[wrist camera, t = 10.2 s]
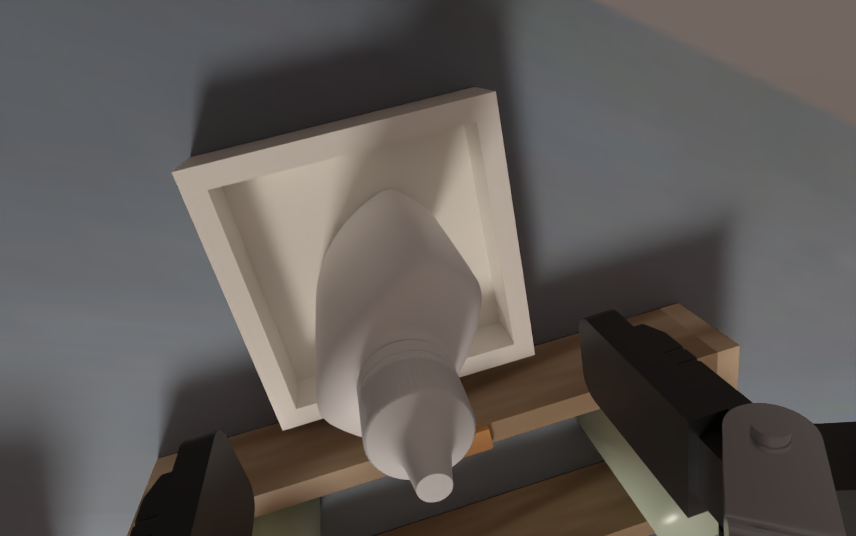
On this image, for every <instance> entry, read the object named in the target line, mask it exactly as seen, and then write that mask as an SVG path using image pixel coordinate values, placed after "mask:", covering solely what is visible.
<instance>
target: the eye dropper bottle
mask: <svg viewBox="0 0 856 536" xmlns="http://www.w3.org/2000/svg"><path fill="white" fill-rule="evenodd" d="M481 304H482V294H481V288H480V285H479V282H478V280H477V279H476V277H475V275H474V274H473V272H472V271H471V269H470V267H469V266H468V264H467V263H466V262H465V260H464V259H463V257H462V256H461V254H460V253H459V251H458V250H457V248H456V247H455V245H454V244H453V243H452V241H451V240H450V238H449V237H448V235H447V234H446V233H445V231H444V230H443V228H442V227H441V225H440V224H439V223H438V221H437V220H436V218H435V217H434V216H433V214H432V213H431V212H430V211H429V210H428V209H427V208H426V207H425V206H423V205H422V204H420V203H418V202H417V201H415V200H414V199H412V198H410V197H409V196H407V195H405V194H404V193H402V192H400V191H397V190H393V189H389V190H385V191H382V192H380V193H378V194H377V195H375V196H374V197H372V198H371V199H370V200H368V201H367V202H366V203H365V204H363V205H362V206H361V207H360V208H359V209H358V210H357V211H356V212H354V214H353V215H352V216H351V217H350V218H349V219H348V220H347V221H346V222H345V223H344V225H343V226H342V227H341V229H340V230H339V232H338V233H337V235H336V236H335V238H334V239H333V241H332V243H331V245H330V247H329V249H328V251H327V253H326V255H325V258H324V261H323V263H322V266H321V270H320V273H319V278H318V282H317V289H316V317H315V388H316V402H317V407H318V410H319V412H320V415H321V416H322V417H323V418H324V419H325V420H326V421H327V422H328V423H330V424H331V425H333V426H335V427H337V428H339V429H341V430H343V431H346V432H348V433H351V434H354V435H356V436H360V437H362V441H363V446H364V451H365V454H366V455H367V457H368V459H369V460H370V463H372V464H373V465H374V467H376V468H377V470H380V471H382V473H385V474H386V475H388V476H391V477H394V478H398V479H403V480H410V481H411V483H412V485H413V487H414V489H415V491H416V493H417V495H418V497H419V498H420V499H421V500H423V501H425V502H438V501H441V500H443V499H445V498H446V497H447V496H448V495H449V494H450V493H451V491H452V489H453V472H452V467H453V466H454V465H456V464H457V463H458V462H459V461H460V460H461V459H462V458H463V457H464V456H465V454H466V453H467V451H468V450H469V449H470V446H471V445H472V442H473V440H474V436H475V435H476V434H475V431H476V425H477V424H476V418H475V414H474V411H473V409H472V406H471V404H470V402H469V399H468V397H467V395H466V392H465V390H464V388H463V385H462V383H461V381H460V378H459V376H458V374H459V373H460V371H461V369H462V367H463V365H464V363H465V361H466V358H467V356H468V354H469V351H470V349H471V346H472V343H473V340H474V337H475V334H476V330H477V326H478V322H479V316H480V312H481Z"/></svg>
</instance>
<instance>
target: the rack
mask: <svg viewBox="0 0 856 536" xmlns="http://www.w3.org/2000/svg"><path fill="white" fill-rule="evenodd" d="M626 320H627V321H628V322H629V323H630V324H632V325H633V326H637V325H640V324H645V325H648V326H650V327H653V328H655V329H658V330H660V331H663V332H666V333H667V334H668V335H669V336H671V337H672V338H673V339H674V340H676V341H677V342H678V343H679V344H680V345H682V346H683V349H687V350H688V351H689V352H690V353H692V354H693V355H694V356H695V357H697V360H698V361H701V362H703V363H704V364H705V365H706V366H708V367H709V368H710V369H711V370H713V371H714V372H715V373H716V374H718V375H719V376H720V377H721V378H722V379H724V380H725V381H726V382H727V383H729V384H730V385H731V386H732V387H734V388H735V389H736V390H737V389H738V370H739V350H740V345H738V344H737V343H735V342H734V341H733V340H731V339H730V338H728V337H727V336H725V335H724V334H722V333H721V332H720V331H718V330H717V329H715V328H714V327H712V326H711V325H710V324H708V323H707V322H705V321H704V320H702V319H701V318H699V317H698V316H697V315H695V314H694V313H692V312H691V311H689V310H688V309H687V308H685V307H684V306H682V305H681V304H679V303H677V304H673V305H670V306H667V307H663V308H660V309H657V310H653V311H650V312H647V313H643V314H640V315H637V316H633V317H630V318H627V319H626ZM534 351H535V355H533V356H529V357H526V358H523V359H519V360H516V361H513V362H509V363H506V364H503V365H500V366H496V367H493V368H490V369H486V370H483V371H480V372H476V373H473V374H470V375H466V376H463V377H460V381H461V383H462V385H463V388H464V390H465V392H466V395H467V397H468V399H469V402H470V404H471V406H472V409H473V411H474V414H475V418H476V424H477V425H476V431H475V434H476V435H475V436H474V440H473V442H472V445H471V446H470V449H469V450H468V451H467V453H466V454H465V456H464V457H467V456H471V455H474V454H477V453H480V452H483V451H486V450H490V449H493V444H492V443H493V442H496V441H499V440H503V439H506V438H509V437H512V436H515V435H518V434H522V433H525V432H528V431H531V430H534V429H538V428H541V427H544V426H547V425H550V424H553V423H557V422H560V421H563V420H566V419H569V418H572V417H576V416H579V415H582V414H585V413H588V412H591V411H595V410H598V409H600V407H599V406H598V405H597V404H596V402H595V401H594V400H593V398H592V396H591V395H590V393H589V391H588V388H587V386H586V383H585V379H584V375H583V366H582V357H581V347H580V338H579V333H577V334H573V335H570V336H567V337H563V338H560V339H557V340H553V341H550V342H546V343H543V344H540V345H536V346H534ZM228 440H229V442H230V444H231V446H232V448H233V450H234V452H235V454H236V456H237V458H238V460H239V462H240V463H241V465H242V467H243V469H244V471H245V473H246V475H247V477H248V479H249V481H250V484H251V487H252V490H253V494H254V501H255V514H254V518H255V517H258V516H261V515H265V514H268V513H271V512H274V511H277V510H280V509H284V508H287V507H290V506H293V505H296V504H299V503H303V502H306V501H309V500H312V499H315V498H319V497H322V496H325V495H328V494H331V493H334V492H338V491H341V490H344V489H347V488H350V487H353V486H357V485H360V484H363V483H366V482H369V481H372V480H376V479H379V478H382V477H385V476H388V475H386V474H385V473H382V471H380V470H377V468H376V467H374V465H373V464H372V463H370V460H369V459H368V457H367V455H366V454H365V451H364V446H363V441H362V437H360V436H356V435H354V434H351V433H348V432H346V431H343V430H341V429H339V428H337V427H335V426H333V425H331V424H330V423H328V422H327V421H326V420H325V419H324V418H323V419H320V420H317V421H313V422H310V423H307V424H304V425H300V426H297V427H294V428H290V429H287V430H284V431H283V430H282V428H281V426H280V423H276V424H273V425H269V426H266V427H263V428H259V429H256V430H253V431H249V432H246V433H243V434H239V435H236V436H232V437H229V438H228ZM177 454H178V453H176V454H172V455H169V456H166V457H162V458H159V459H157V461H156V464H155V466H154V469H153V471H152V474H151V476H150V479H149V481H148V484H147V487H146V489H145V492H144V494H143V497H142V499H141V502H140V504H139V507H138V509H137V512H136V514H135V517H134V519H133V522H132V524H131V527H130V529H129V532H128V535H127V536H130V533H131V530H132V528H133V527H135V523H134V522H135V519H136V517H137V514H138V511H139V509H140V506H141V503H142V500H143V498H144V497H145V495H146V494H147V493H148V491H149V490H150V489H151V488H152V486H153V485H154V484H155V482H156V481H157V480H158V478H159V477H160V476H161V475H162V474H165V473H169V472H172V470H173V466H174V463H175V460H176V457H177ZM464 457H463V458H464ZM654 533H655V532H654V530H653V529H652V527H651V526H650V524H649V523H648V522H647V520H646V519H645V517H644V516H643V514H642V513H641V512H640V510H639V509H638V507H637V506H636V504H635V503H634V502H633V500H632V499H631V497H630V496H629V494H628V493H627V492H626V490H625V489H624V487H623V486H622V484H621V483H620V482H619V480H618V479H617V477H616V476H615V475H614V473H613V472H612V470H611V469H610V467H609V466H608V465H607V463H606V462H605V461H603V462H600V463H597V464H594V465H591V466H588V467H585V468H582V469H579V470H576V471H572V472H569V473H566V474H563V475H560V476H557V477H554V478H551V479H548V480H545V481H542V482H539V483H536V484H533V485H529V486H526V487H523V488H520V489H517V490H514V491H511V492H508V493H505V494H502V495H499V496H496V497H493V498H489V499H486V500H483V501H480V502H477V503H474V504H471V505H468V506H465V507H462V508H459V509H456V510H453V511H450V512H446V513H443V514H440V515H437V516H434V517H431V518H428V519H425V520H422V521H419V522H416V523H413V524H410V525H406V526H403V527H400V528H397V529H394V530H391V531H388V532H385V533H382V534H379V535H376V536H648V535H651V534H654Z"/></svg>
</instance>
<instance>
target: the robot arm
mask: <svg viewBox="0 0 856 536" xmlns="http://www.w3.org/2000/svg"><path fill="white" fill-rule="evenodd" d="M578 328H579V338H580V347H581V357H582V366H583V375H584V379H585V383H586V386H587V388H588V391H589V393H590V395H591V396H592V398H593V400H594V401H595V402H596V404H597V405H598V406H599V407H600V409H601V410H602V411H603V412H604V414H605V415H606V416H607V417H608V419H609V420H610V421H611V422H612V424H613V425H614V426H615V427H616V429H617V430H618V431H619V432H620V434H621V435H622V436H623V437H624V439H625V440H626V441H627V442H628V444H629V445H630V446H631V447H632V449H633V450H634V451H635V452H636V454H637V455H638V456H639V458H640V459H641V460H642V461H643V463H644V464H645V465H646V466H647V468H648V469H649V470H650V471H651V473H652V474H653V475H654V476H655V478H656V479H657V480H658V481H659V483H660V484H661V485H662V486H663V488H664V489H665V490H666V491H667V493H668V494H669V495H670V496H671V498H672V499H673V500H674V501H675V503H676V504H677V505H678V506H679V508H680V509H681V510H682V511H683V513H684V514H685V515H686V516H687V518H690V517H693V516H696V515H698V514H701V513H704V512H707V511H709V513H710V514H711V515H712V516H713V517H714V519H715V520H716V521H717V522H718V536H856V422H842V423H824V424H813V423H812V422H811V421H809V420H808V419H807V418H805V417H804V416H802V415H800V414H799V413H797V412H795V411H793V410H790V409H787V408H785V407H781V406H777V405H773V404H766V403H752V402H751V401H750V400H748V399H747V398H746V397H745V396H744V395H742V394H741V393H740V392H739V391H737V390H736V389H735V388H734V387H732V386H731V385H730V384H729V383H727V382H726V381H725V380H724V379H722V378H721V377H720V376H719V375H718V374H716V373H715V372H714V371H713V370H711V369H710V368H709V367H708V366H706V365H705V364H704V363H703V362H701V361H698V360H697V357H695V356H694V355H693V354H692V353H690V352H689V351H688V350H687V349H683V346H682V345H680V344H679V343H678V342H677V341H676V340H674V339H673V338H672V337H671V336H669V335H668V334H667V333H666V332H663V331H660V330H658V329H655V328H653V327H650V326H648V325H645V324H640V325H637V326H633V325H632V324H630V323H629V322H628V321H627V320H626V319H625V318H624V317H622V316H621V315H620V314H619V313H618V312H616V311H615V310H608V311H605V312H602V313H599V314H595V315H592V316H589V317H586V318H583V319H580V321H579V325H578ZM254 514H255V501H254V494H253V490H252V487H251V484H250V481H249V479H248V477H247V475H246V473H245V471H244V469H243V467H242V465H241V463H240V462H239V460H238V458H237V456H236V454H235V452H234V450H233V448H232V446H231V444H230V442H229V440H228V438H227V436H226V435H225V434H224V433H223V432H222V431H217V432H213V433H210V434H207V435H204V436H201V437H197V438H194V439H191V440H188V441H185V442H183V443H182V444H181V445H180V448H179V451H178V454H177V457H176V460H175V463H174V466H173V470H172V472H169V473H165V474H162V475H161V476H160V477H159V478H158V480H157V481H156V482H155V484H154V485H153V486H152V488H151V489H150V490H149V491H148V493H147V494H146V495H145V497H144V498H143V500H142V503H141V506H140V509H139V511H138V514H137V517H136V519H135V522H134V523H135V527H133V528H132V530H131V533H130V536H252V531H253V523H254Z"/></svg>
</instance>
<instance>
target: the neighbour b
mask: <svg viewBox="0 0 856 536" xmlns="http://www.w3.org/2000/svg"><path fill="white" fill-rule="evenodd" d="M576 419H577V421H578V423H579V425H580V426H581V427H582V429H583V430H584V432H585V433H586V435H587V436H588V437H589V439H590V440H591V442H592V443H593V445H594V446H595V447H596V449H597V450H598V452H599V453H600V455H601V456H602V457H603V459H604V460H605V462H606V463H607V465H608V466H609V467H610V469H611V470H612V472H613V473H614V475H615V476H616V477H617V479H618V480H619V482H620V483H621V484H622V486H623V487H624V489H625V490H626V492H627V493H628V494H629V496H630V497H631V499H632V500H633V502H634V503H635V504H636V506H637V507H638V509H639V510H640V512H641V513H642V514H643V516H644V517H645V519H646V520H647V522H648V523H649V524H650V526H651V527H652V529H653V530H654V532H655V533H656V534H657V536H715V535H717V534H718V522H717V521H716V520H715V519H714V517H713V516H712V515H711V514H710V513H709V511H707V512H704V513H701V514H698V515H696V516H693V517H690V518H687V516H686V515H685V514H684V513H683V511H682V510H681V509H680V508H679V506H678V505H677V504H676V503H675V501H674V500H673V499H672V498H671V496H670V495H669V494H668V493H667V491H666V490H665V489H664V488H663V486H662V485H661V484H660V483H659V481H658V480H657V479H656V478H655V476H654V475H653V474H652V473H651V471H650V470H649V469H648V468H647V466H646V465H645V464H644V463H643V461H642V460H641V459H640V458H639V456H638V455H637V454H636V452H635V451H634V450H633V449H632V447H631V446H630V445H629V444H628V442H627V441H626V440H625V439H624V437H623V436H622V435H621V434H620V432H619V431H618V430H617V429H616V427H615V426H614V425H613V424H612V422H611V421H610V420H609V419H608V417H607V416H606V415H605V414H604V412H603V411H602V410H601V409H598V410H595V411H591V412H588V413H585V414H582V415H579V416H576Z"/></svg>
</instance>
